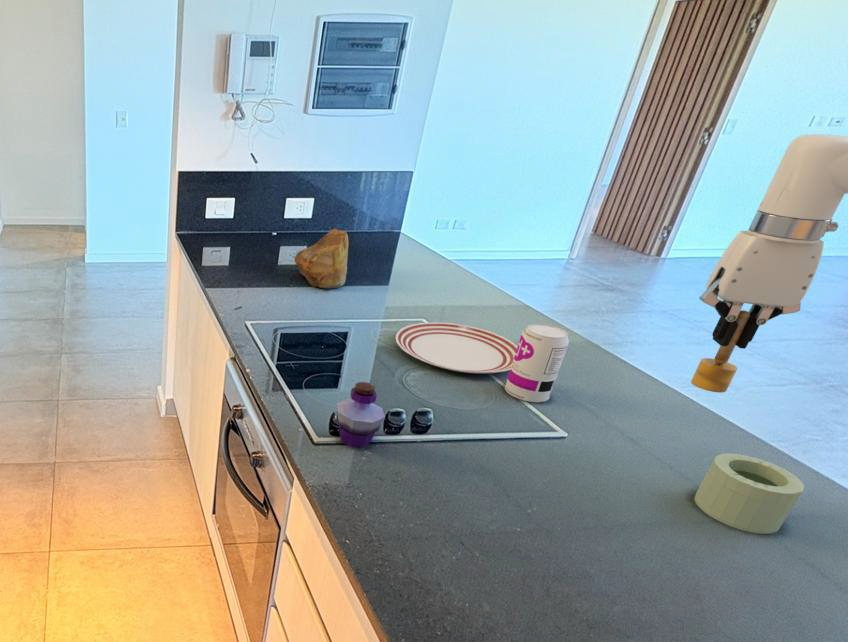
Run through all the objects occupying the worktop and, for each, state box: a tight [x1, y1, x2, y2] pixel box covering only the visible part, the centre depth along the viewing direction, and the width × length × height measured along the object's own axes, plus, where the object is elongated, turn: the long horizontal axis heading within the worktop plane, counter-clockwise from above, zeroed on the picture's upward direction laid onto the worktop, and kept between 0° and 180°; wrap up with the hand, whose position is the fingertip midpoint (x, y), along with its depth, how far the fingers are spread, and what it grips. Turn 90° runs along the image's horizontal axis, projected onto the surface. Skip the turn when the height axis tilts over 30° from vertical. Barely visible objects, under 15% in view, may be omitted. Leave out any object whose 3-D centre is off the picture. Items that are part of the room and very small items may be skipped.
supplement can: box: [504, 323, 570, 403], centre depth 127 cm, size 8×8×15 cm
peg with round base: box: [690, 309, 750, 393], centre depth 96 cm, size 4×4×13 cm
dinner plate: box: [395, 321, 518, 375], centre depth 147 cm, size 27×27×3 cm
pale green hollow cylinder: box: [694, 453, 805, 535], centre depth 95 cm, size 10×10×8 cm
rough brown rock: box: [294, 228, 350, 290], centre depth 195 cm, size 23×17×15 cm
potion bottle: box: [336, 381, 386, 449], centre depth 112 cm, size 9×9×12 cm
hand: (728, 343), depth 96 cm, fingers closed on peg with round base, 1 cm apart
